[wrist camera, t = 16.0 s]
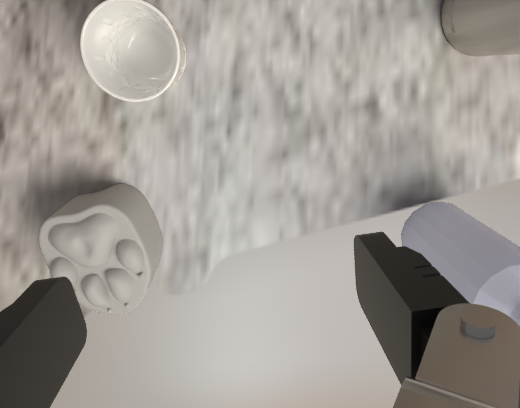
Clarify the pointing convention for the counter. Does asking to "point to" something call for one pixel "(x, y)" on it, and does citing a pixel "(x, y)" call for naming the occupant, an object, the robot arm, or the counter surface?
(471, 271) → the soap bottle
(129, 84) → the white cup
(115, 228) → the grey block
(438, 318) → the robot arm
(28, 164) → the counter surface
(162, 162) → the counter surface
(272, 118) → the counter surface
